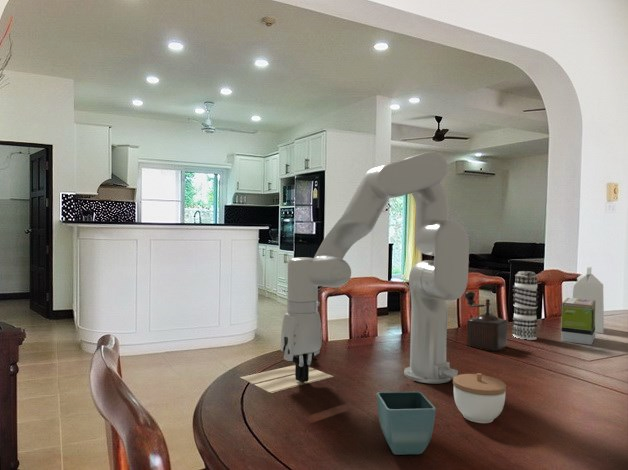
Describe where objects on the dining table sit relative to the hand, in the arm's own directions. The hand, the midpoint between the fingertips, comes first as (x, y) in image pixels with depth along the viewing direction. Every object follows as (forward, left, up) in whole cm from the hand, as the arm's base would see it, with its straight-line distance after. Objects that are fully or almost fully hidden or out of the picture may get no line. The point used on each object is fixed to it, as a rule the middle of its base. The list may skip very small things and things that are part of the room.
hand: (301, 380), depth 114 cm
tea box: (-22, -117, -2) cm, 119 cm away
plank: (+2, 0, -2) cm, 3 cm away
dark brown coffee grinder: (-4, -78, -2) cm, 78 cm away
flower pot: (-36, +5, -2) cm, 37 cm away
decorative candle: (-8, -103, -2) cm, 103 cm away
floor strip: (+9, 0, -2) cm, 9 cm away
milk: (-17, -141, -2) cm, 142 cm away
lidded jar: (-37, -19, -2) cm, 42 cm away
